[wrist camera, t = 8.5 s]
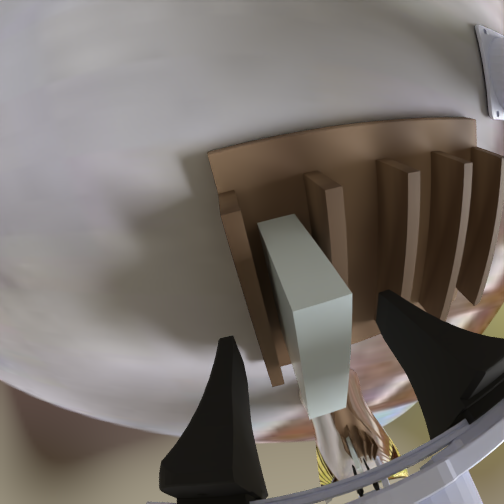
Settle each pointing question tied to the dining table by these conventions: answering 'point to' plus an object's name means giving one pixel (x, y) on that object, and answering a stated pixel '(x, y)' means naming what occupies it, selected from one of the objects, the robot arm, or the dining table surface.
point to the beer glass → (352, 444)
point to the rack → (366, 214)
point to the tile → (310, 313)
